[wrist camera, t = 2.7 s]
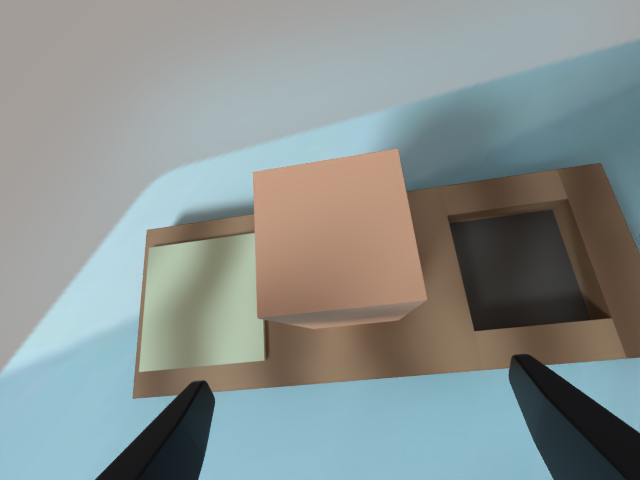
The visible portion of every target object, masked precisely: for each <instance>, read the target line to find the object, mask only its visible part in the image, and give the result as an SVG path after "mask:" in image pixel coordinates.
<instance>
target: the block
mask: <svg viewBox="0 0 640 480" xmlns="http://www.w3.org/2000/svg"><path fill="white" fill-rule="evenodd" d="M253 188H254V223H255V258H256V294H257V318H258V319H263V320H269V321H274V322H279V323H284V324H290V325H295V326H300V327H305V328H311V329H319V328H329V327H339V326H348V325H358V324H368V323H378V322H388V321H397V320H400V319H401V318H402V317H404V316H405V315H407V314H408V313H410V312H411V311H412V310H414V309H415V308H417V307H418V306H420V305H421V304H422V303H424V302H425V301H427V295H426V290H425V285H424V280H423V275H422V270H421V265H420V259H419V254H418V249H417V244H416V239H415V234H414V229H413V224H412V218H411V213H410V208H409V203H408V198H407V193H406V188H405V183H404V177H403V172H402V167H401V162H400V157H399V152H398V148H397V149H391V150H385V151H379V152H373V153H367V154H361V155H355V156H349V157H342V158H336V159H330V160H324V161H318V162H312V163H306V164H300V165H294V166H288V167H281V168H275V169H269V170H263V171H257V172H253Z"/></svg>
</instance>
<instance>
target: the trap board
mask: <svg viewBox="0 0 640 480" xmlns="http://www.w3.org/2000/svg"><path fill="white" fill-rule="evenodd" d="M406 193H407V198H408V203H409V208H410V213H411V218H412V224H413V229H414V234H415V239H416V244H417V249H418V254H419V259H420V265H421V270H422V275H423V280H424V285H425V290H426V295H427V301H425V302H424V303H422V304H421V305H420V306H418V307H417V308H415V309H414V310H412V311H411V312H410V313H408V314H407V315H405V316H404V317H402V318H401V319H400V320H397V321H388V322H378V323H368V324H358V325H348V326H339V327H329V328H319V329H311V328H305V327H300V326H295V325H290V324H284V323H279V322H274V321H269V320H263V319H258V318H257V294H256V258H255V223H254V214H251V215H245V216H238V217H231V218H224V219H218V220H211V221H204V222H197V223H191V224H184V225H177V226H170V227H163V228H157V229H150V230H147V235H146V247H145V258H144V270H143V282H142V294H141V306H140V317H139V329H138V341H137V353H136V365H135V376H134V388H133V399H135V398H148V397H160V396H172V395H179V394H180V393H181V392H182V391H183V390H184V389H185V388H186V387H187V386H188V385H189V384H190V383H191V382H193V381H199V380H205V381H207V383H208V385H209V387H210V389H211V391H212V392H221V391H233V390H246V389H258V388H270V387H283V386H295V385H307V384H319V383H332V382H344V381H356V380H368V379H381V378H393V377H405V376H417V375H430V374H442V373H454V372H467V371H479V370H491V369H503V368H510V362H511V357H512V356H513V355H517V354H529V355H531V356H532V357H534V358H535V359H537V360H538V361H539V362H541V363H542V364H544V365H552V364H565V363H577V362H589V361H601V360H614V359H626V358H638V357H640V254H639V252H638V250H637V247H636V245H635V243H634V240H633V238H632V235H631V233H630V231H629V228H628V226H627V224H626V221H625V219H624V216H623V214H622V212H621V209H620V207H619V205H618V202H617V200H616V197H615V195H614V193H613V190H612V188H611V186H610V183H609V181H608V178H607V176H606V174H605V171H604V169H603V167H602V164H601V163H597V164H590V165H583V166H576V167H570V168H563V169H556V170H549V171H543V172H536V173H529V174H522V175H515V176H509V177H502V178H495V179H488V180H482V181H475V182H468V183H461V184H455V185H448V186H441V187H434V188H427V189H421V190H414V191H407V192H406Z"/></svg>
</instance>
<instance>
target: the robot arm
mask: <svg viewBox="0 0 640 480" xmlns="http://www.w3.org/2000/svg"><path fill="white" fill-rule="evenodd" d="M509 381H510V384H511V387H512V389H513V391H514V394H515V396H516V399H517V401H518V404H519V406H520V409H521V411H522V414H523V416H524V419H525V421H526V424H527V426H528V428H529V431H530V433H531V436H532V438H533V440H534V442H535V444H536V446H537V448H538V450H539V452H540V454H541V456H542V458H543V460H544V462H545V464H546V466H547V468H548V470H549V471H550V473H551V475H552V477H553V479H554V480H640V433H639V432H638V431H636V430H635V429H633V428H632V427H631V426H629V425H628V424H626V423H625V422H624V421H622V420H621V419H619V418H618V417H617V416H615V415H614V414H612V413H611V412H610V411H608V410H607V409H605V408H604V407H603V406H601V405H600V404H598V403H597V402H596V401H594V400H593V399H591V398H590V397H589V396H587V395H586V394H584V393H583V392H582V391H580V390H579V389H577V388H576V387H575V386H573V385H572V384H570V383H569V382H568V381H566V380H565V379H563V378H562V377H561V376H559V375H558V374H556V373H555V372H554V371H552V370H551V369H549V368H548V367H546V366H545V365H544V364H542V363H541V362H539V361H538V360H537V359H535V358H534V357H532V356H531V355H529V354H517V355H513V356H512V357H511V362H510V369H509ZM214 406H215V398H214V395H213V393H212V391H211V389H210V387H209V385H208V383H207V381H205V380H199V381H193V382H191V383H190V384H189V385H188V386H187V387H186V388H185V389H184V390H183V391H182V392H181V393H180V394H179V395H178V396H177V397H176V398H175V399H174V400H173V401H172V402H171V403H170V404H169V405H168V406H167V407H166V408H165V409H164V410H163V411H162V412H161V413H160V414H159V415H158V416H157V417H156V418H155V419H154V420H153V421H152V422H151V423H150V424H149V425H148V426H147V427H146V428H145V429H144V430H143V432H142V433H141V434H140V435H139V436H138V437H137V438H136V439H135V440H134V441H133V442H132V443H131V444H130V445H129V446H128V447H127V448H126V449H125V450H124V451H123V452H122V453H121V454H120V455H119V456H118V457H117V458H116V459H115V460H114V461H113V462H112V463H111V464H110V465H109V466H108V467H107V468H106V469H105V470H104V471H103V472H102V473H101V474H100V475H99V476H98V477H97V478H96V479H95V480H198V478H199V475H200V471H201V468H202V464H203V461H204V457H205V452H206V448H207V442H208V437H209V432H210V427H211V422H212V416H213V411H214Z"/></svg>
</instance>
